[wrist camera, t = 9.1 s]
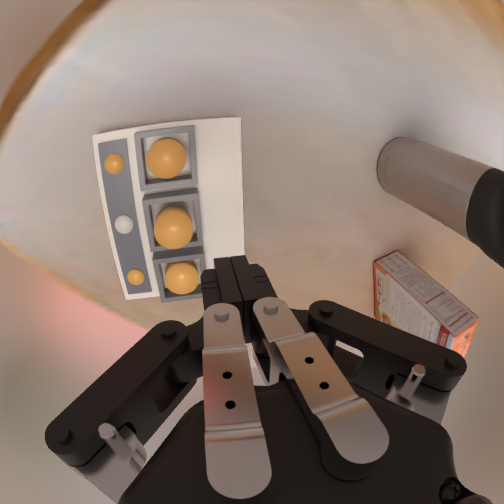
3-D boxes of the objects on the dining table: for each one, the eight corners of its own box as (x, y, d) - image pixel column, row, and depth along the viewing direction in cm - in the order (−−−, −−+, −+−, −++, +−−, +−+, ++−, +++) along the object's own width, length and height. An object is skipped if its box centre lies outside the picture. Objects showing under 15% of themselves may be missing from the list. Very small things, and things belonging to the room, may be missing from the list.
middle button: (190, 203, 30) (191, 209, 28) (193, 238, 32) (195, 246, 30) (152, 208, 29) (150, 215, 27) (158, 242, 31) (157, 251, 29)
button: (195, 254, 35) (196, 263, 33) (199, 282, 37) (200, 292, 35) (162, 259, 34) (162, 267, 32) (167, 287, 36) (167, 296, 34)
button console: (235, 116, 32) (244, 117, 27) (240, 272, 42) (249, 293, 37) (99, 133, 28) (86, 137, 24) (128, 287, 38) (124, 310, 34)
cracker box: (397, 304, 54) (459, 374, 36) (373, 317, 54) (433, 393, 36) (399, 247, 47) (482, 318, 29) (371, 260, 47) (453, 340, 29)
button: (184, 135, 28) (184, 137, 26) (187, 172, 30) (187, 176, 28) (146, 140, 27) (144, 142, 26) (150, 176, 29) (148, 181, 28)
